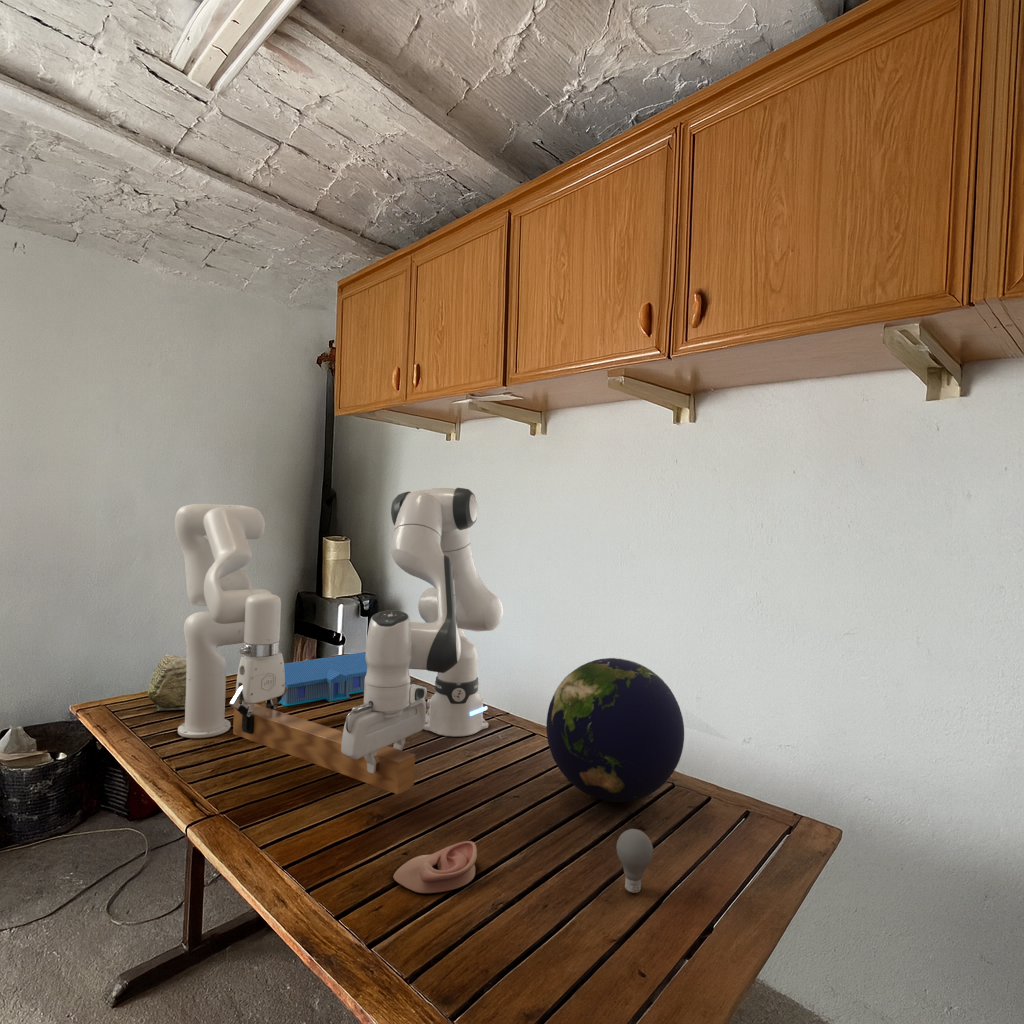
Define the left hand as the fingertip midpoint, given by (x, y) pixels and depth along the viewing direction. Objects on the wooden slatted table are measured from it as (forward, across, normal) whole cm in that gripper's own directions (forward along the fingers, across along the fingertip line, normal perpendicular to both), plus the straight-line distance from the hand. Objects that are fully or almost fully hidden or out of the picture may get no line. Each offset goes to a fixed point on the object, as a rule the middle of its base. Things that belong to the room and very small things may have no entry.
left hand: (258, 727), depth 144 cm
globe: (+10, +38, -70) cm, 81 cm away
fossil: (+10, +15, +54) cm, 57 cm away
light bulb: (+10, +8, -87) cm, 88 cm away
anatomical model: (+10, -7, -58) cm, 59 cm away
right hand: (-2, 0, -38) cm, 39 cm away
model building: (+10, +54, +34) cm, 65 cm away
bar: (+2, 0, -19) cm, 19 cm away
